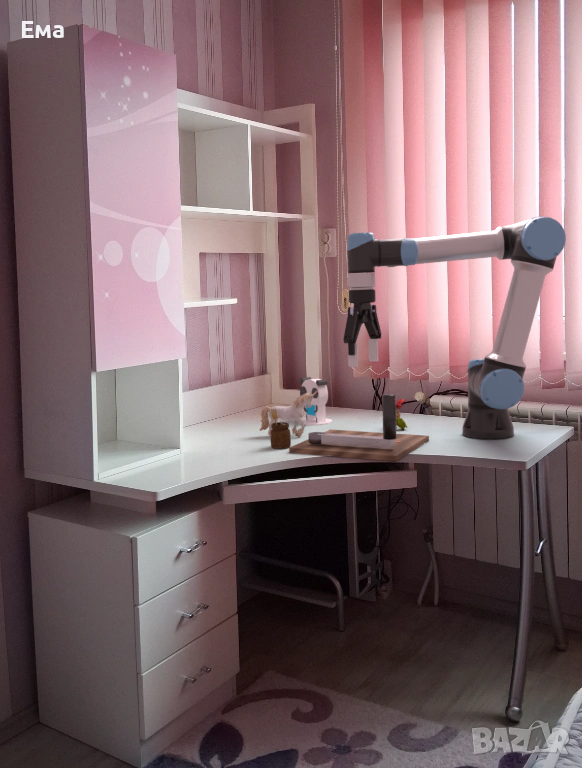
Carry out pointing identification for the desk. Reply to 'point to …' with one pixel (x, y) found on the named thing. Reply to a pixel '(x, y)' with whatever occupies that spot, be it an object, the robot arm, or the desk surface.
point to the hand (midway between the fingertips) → (363, 364)
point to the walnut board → (401, 449)
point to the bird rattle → (399, 421)
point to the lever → (361, 440)
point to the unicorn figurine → (288, 413)
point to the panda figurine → (315, 401)
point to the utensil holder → (280, 433)
